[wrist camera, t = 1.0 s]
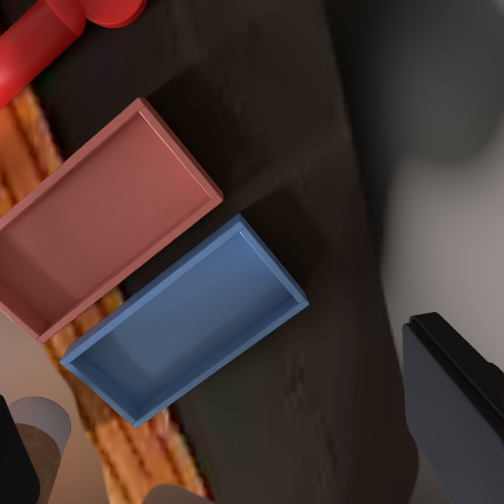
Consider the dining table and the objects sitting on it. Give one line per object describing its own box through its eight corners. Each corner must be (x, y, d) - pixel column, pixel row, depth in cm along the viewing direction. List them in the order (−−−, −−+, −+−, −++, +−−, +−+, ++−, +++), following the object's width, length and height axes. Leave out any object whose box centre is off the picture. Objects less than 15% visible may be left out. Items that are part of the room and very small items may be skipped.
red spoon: (1, 143, 31) (-20, 146, 28) (-60, 80, 29) (-88, 78, 26) (166, -8, 28) (160, -20, 26) (109, -85, 27) (97, -105, 24)
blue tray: (69, 345, 36) (58, 362, 34) (239, 212, 33) (240, 220, 31) (141, 409, 39) (135, 429, 36) (303, 291, 36) (309, 304, 34)
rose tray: (-33, 252, 33) (-53, 264, 31) (145, 97, 30) (138, 97, 28) (52, 329, 36) (40, 345, 33) (223, 193, 33) (223, 200, 30)
